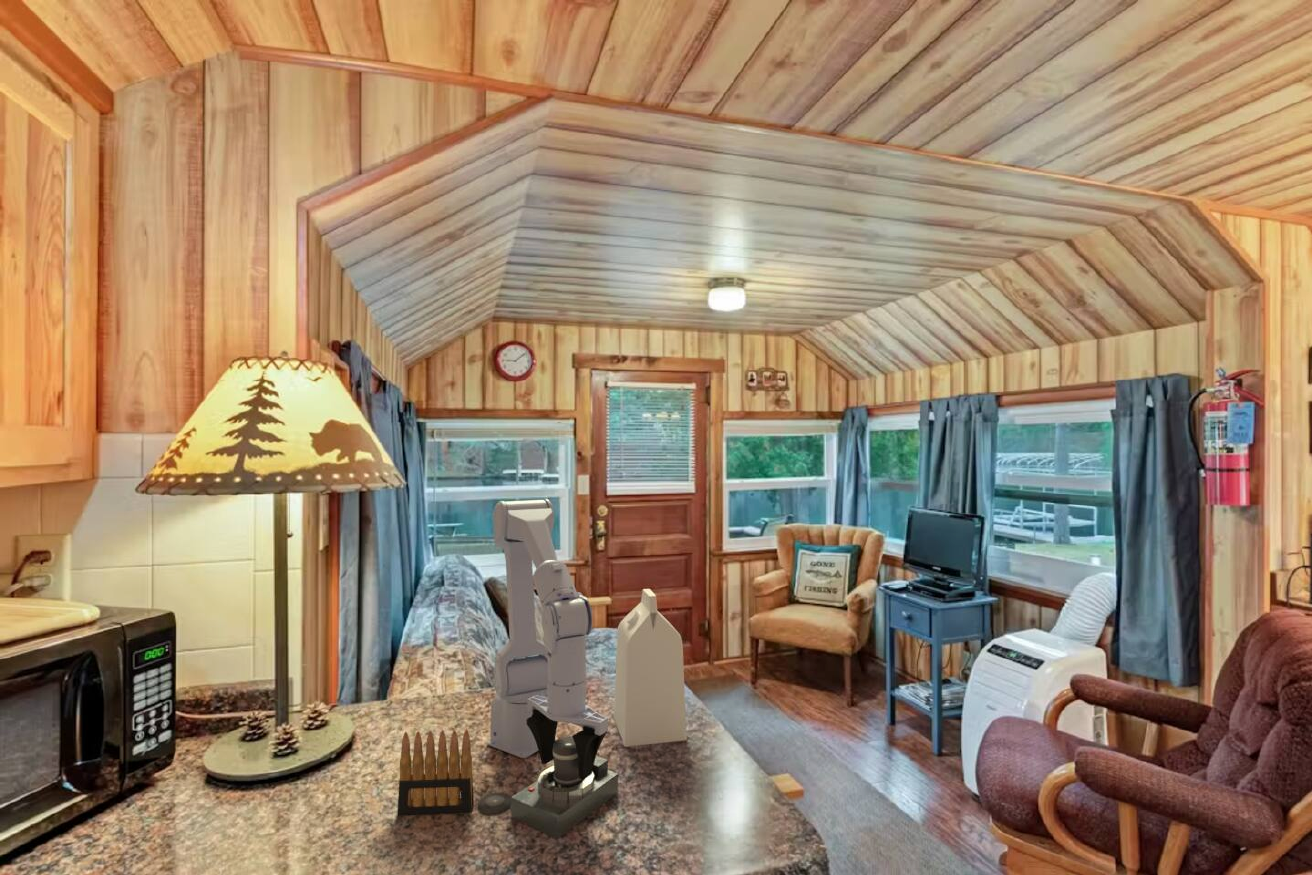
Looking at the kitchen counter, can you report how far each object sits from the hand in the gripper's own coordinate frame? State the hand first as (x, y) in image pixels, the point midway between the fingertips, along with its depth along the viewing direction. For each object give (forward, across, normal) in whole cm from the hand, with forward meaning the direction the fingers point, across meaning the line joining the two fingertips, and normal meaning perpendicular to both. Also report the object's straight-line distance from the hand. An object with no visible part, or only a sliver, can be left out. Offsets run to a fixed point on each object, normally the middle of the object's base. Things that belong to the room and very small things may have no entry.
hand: (566, 768), depth 99 cm
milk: (+6, +4, -28) cm, 29 cm away
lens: (+2, 0, -1) cm, 2 cm away
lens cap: (+6, +9, +6) cm, 12 cm away
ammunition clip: (+6, +15, +12) cm, 20 cm away
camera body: (+6, 0, 0) cm, 6 cm away
